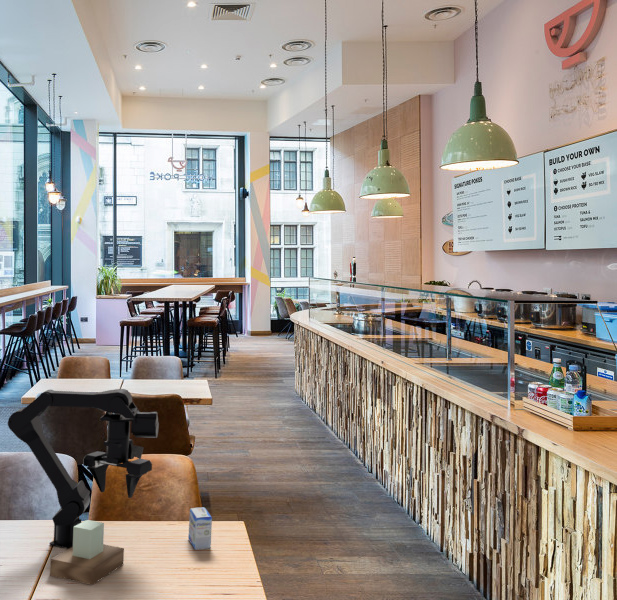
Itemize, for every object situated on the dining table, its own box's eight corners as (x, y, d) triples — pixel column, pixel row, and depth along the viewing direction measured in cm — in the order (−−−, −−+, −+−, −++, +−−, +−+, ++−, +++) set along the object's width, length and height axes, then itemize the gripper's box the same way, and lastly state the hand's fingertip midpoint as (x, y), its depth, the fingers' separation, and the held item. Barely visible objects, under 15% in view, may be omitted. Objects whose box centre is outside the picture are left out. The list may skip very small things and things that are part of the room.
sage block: (72, 555, 152) (73, 526, 152) (86, 547, 157) (86, 519, 157) (90, 559, 151) (91, 530, 151) (103, 551, 155) (104, 522, 155)
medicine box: (188, 539, 175) (189, 508, 175) (204, 537, 177) (205, 506, 177) (194, 550, 168) (195, 518, 168) (211, 548, 170) (212, 516, 169)
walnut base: (50, 575, 150) (50, 558, 150) (83, 555, 162) (83, 540, 161) (92, 584, 146) (93, 567, 146) (123, 564, 158) (123, 548, 158)
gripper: (165, 435, 174) (163, 492, 174) (110, 427, 181) (108, 481, 181) (139, 443, 164) (137, 504, 164) (82, 434, 171) (80, 492, 171)
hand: (116, 494), depth 170 cm, fingers open, 9 cm apart
